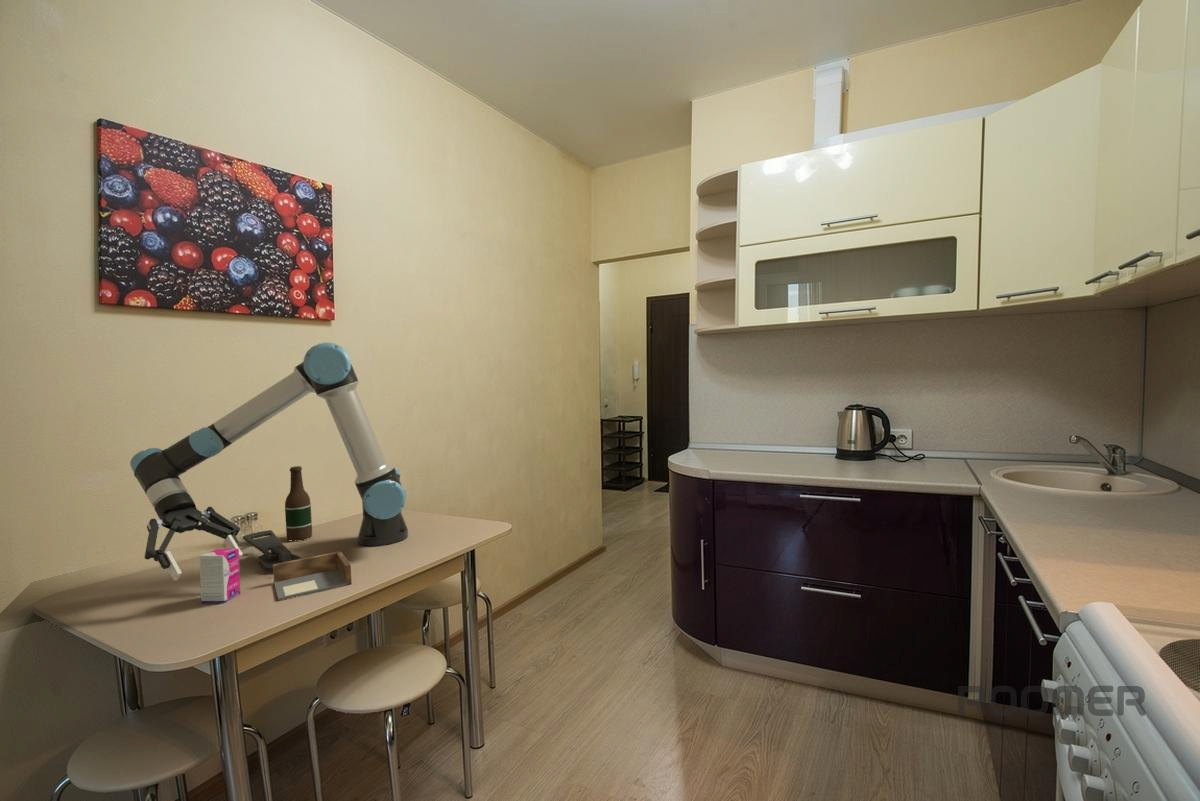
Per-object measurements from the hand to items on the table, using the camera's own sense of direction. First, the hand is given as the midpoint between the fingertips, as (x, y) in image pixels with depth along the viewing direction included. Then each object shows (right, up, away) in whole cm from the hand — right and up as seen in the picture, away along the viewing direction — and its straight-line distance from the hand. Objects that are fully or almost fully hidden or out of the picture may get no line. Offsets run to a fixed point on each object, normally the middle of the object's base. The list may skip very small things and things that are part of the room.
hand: (210, 567), depth 129 cm
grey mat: (+21, -7, +8) cm, 23 cm away
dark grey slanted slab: (-1, -7, +26) cm, 27 cm away
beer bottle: (-6, -6, +49) cm, 50 cm away
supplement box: (+3, -8, 0) cm, 8 cm away
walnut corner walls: (+21, -7, +8) cm, 23 cm away
